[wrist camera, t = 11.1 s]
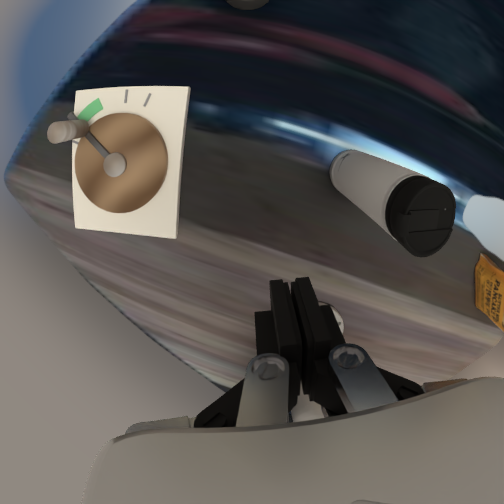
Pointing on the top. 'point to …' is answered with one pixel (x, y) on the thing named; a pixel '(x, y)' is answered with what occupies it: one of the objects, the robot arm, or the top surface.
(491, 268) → the pancake mix bag
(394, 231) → the travel mug
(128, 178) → the dial
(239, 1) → the candle holder
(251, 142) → the top surface
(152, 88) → the dial plate
